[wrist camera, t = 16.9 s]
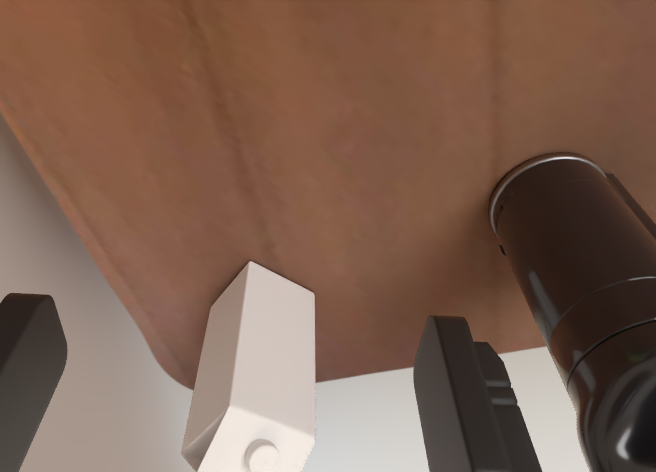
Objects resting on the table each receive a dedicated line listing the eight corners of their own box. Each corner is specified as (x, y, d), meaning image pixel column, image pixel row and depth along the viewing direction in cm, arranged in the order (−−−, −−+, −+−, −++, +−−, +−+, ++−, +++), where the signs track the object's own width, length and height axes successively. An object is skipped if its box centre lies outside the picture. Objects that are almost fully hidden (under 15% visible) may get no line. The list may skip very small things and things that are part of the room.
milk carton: (273, 334, 53) (259, 535, 38) (210, 305, 51) (168, 509, 36) (315, 292, 50) (317, 495, 35) (249, 258, 47) (221, 463, 32)
